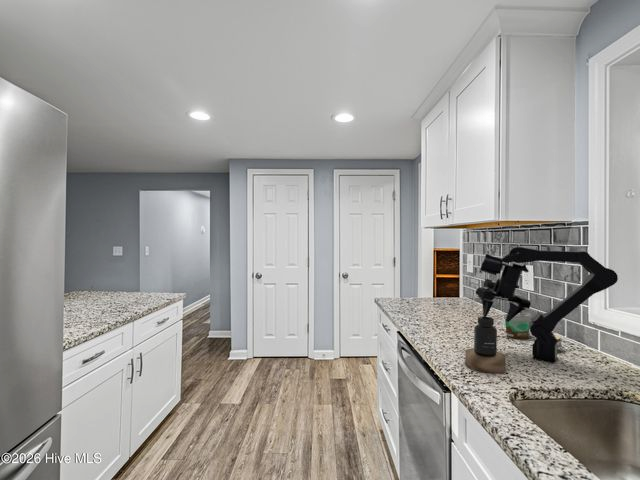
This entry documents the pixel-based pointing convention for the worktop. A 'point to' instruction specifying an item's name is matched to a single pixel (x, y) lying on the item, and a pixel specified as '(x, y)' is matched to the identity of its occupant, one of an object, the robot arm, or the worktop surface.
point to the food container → (518, 326)
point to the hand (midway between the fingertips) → (495, 319)
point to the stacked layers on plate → (558, 341)
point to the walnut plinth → (485, 362)
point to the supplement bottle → (485, 337)
